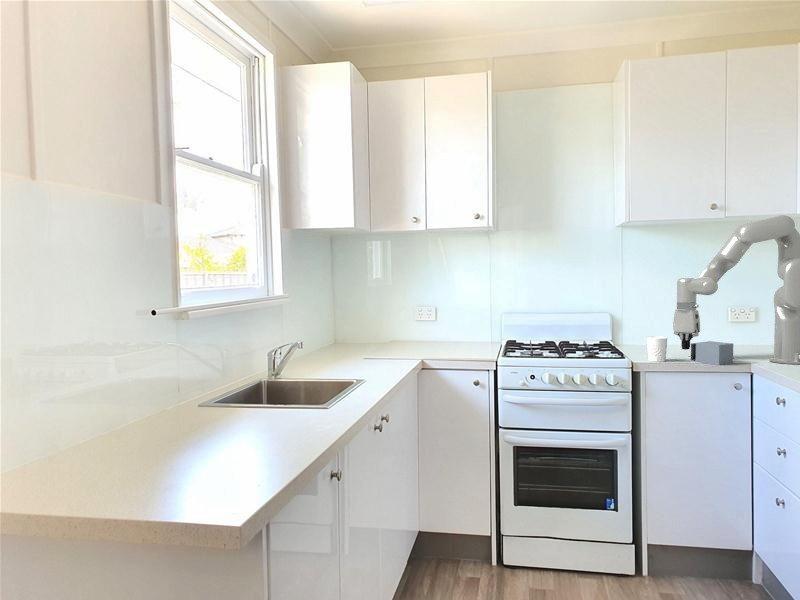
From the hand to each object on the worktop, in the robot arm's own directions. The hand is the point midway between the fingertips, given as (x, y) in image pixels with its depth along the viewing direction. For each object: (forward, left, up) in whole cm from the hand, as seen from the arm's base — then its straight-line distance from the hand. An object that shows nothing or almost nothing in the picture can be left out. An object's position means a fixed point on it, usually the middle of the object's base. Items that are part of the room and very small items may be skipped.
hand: (685, 349), depth 253 cm
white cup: (+3, +15, -4) cm, 16 cm away
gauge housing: (-7, -2, -4) cm, 9 cm away
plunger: (-10, -2, -4) cm, 11 cm away
